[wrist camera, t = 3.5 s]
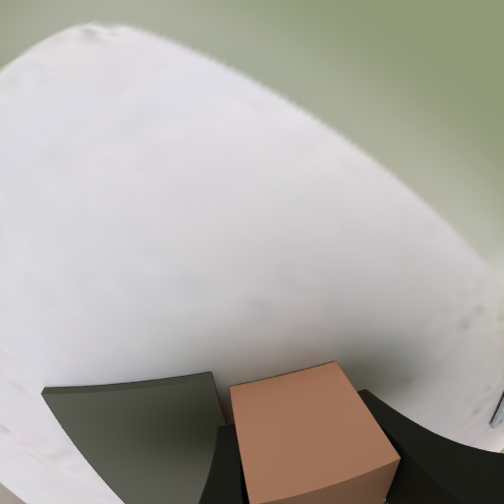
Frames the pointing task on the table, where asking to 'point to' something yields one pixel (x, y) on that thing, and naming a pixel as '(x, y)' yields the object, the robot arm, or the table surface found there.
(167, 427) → the mat
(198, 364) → the table surface
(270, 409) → the salmon orange block
